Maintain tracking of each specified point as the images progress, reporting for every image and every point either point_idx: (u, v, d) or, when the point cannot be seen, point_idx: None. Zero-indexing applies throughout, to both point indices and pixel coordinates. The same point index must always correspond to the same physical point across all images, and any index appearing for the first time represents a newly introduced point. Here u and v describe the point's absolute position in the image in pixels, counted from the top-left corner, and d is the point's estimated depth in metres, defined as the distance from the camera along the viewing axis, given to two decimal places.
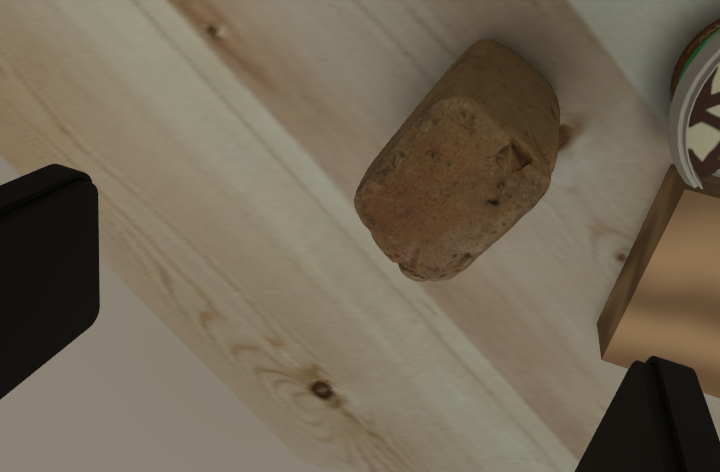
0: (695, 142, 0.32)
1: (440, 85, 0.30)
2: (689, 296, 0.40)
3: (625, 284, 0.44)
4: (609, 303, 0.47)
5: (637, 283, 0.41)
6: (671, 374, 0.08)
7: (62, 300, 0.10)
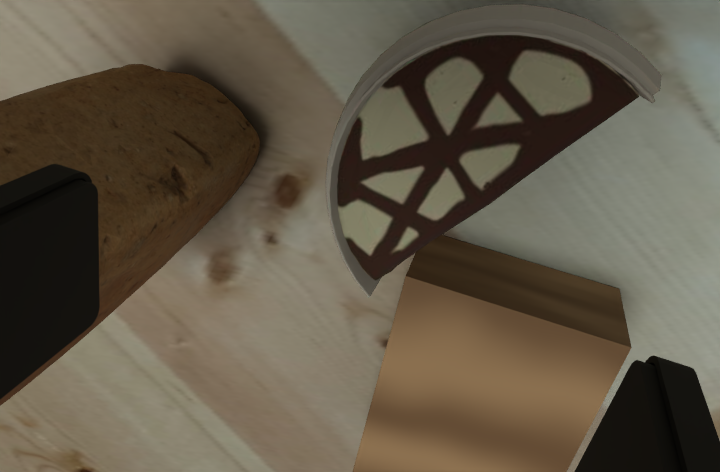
0: (354, 228, 0.22)
1: None
2: (437, 412, 0.30)
3: None
4: None
5: (374, 392, 0.31)
6: (671, 374, 0.08)
7: (62, 300, 0.10)
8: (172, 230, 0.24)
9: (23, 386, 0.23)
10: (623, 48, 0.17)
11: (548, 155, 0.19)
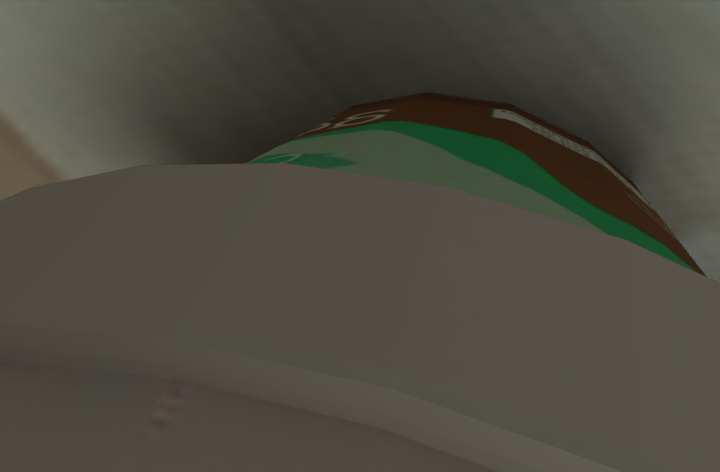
0: None
1: None
2: None
3: None
4: None
5: None
6: None
7: None
8: None
9: None
10: None
11: None
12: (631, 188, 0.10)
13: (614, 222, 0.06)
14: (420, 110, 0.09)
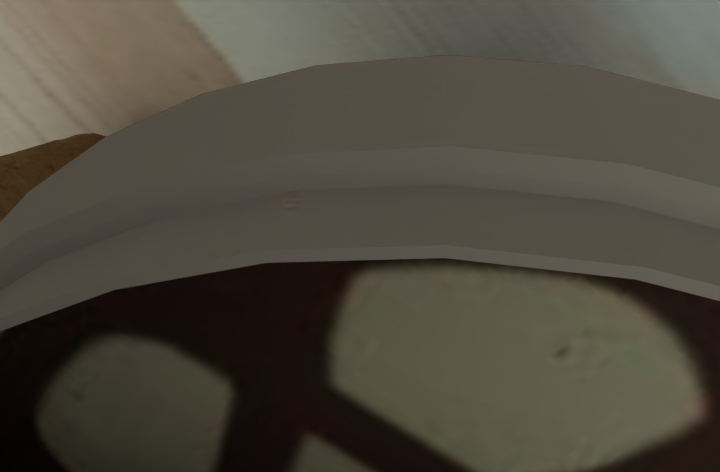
0: None
1: None
2: None
3: None
4: None
5: None
6: None
7: None
8: None
9: None
10: None
11: None
12: None
13: None
14: None
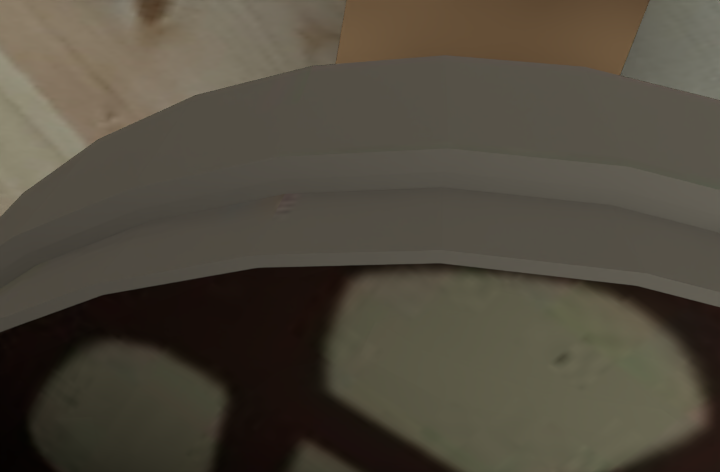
0: None
1: None
2: None
3: None
4: None
5: None
6: None
7: None
8: None
9: None
10: None
11: None
12: None
13: None
14: None
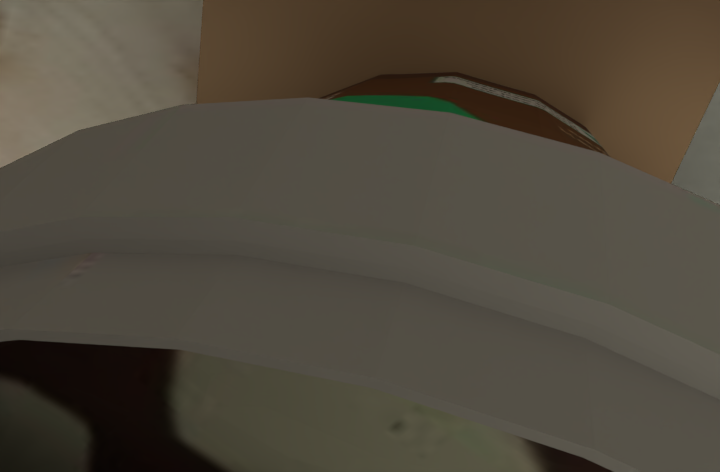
0: None
1: None
2: None
3: None
4: None
5: None
6: None
7: None
8: None
9: None
10: (661, 250, 0.03)
11: None
12: (574, 127, 0.10)
13: None
14: (366, 87, 0.10)
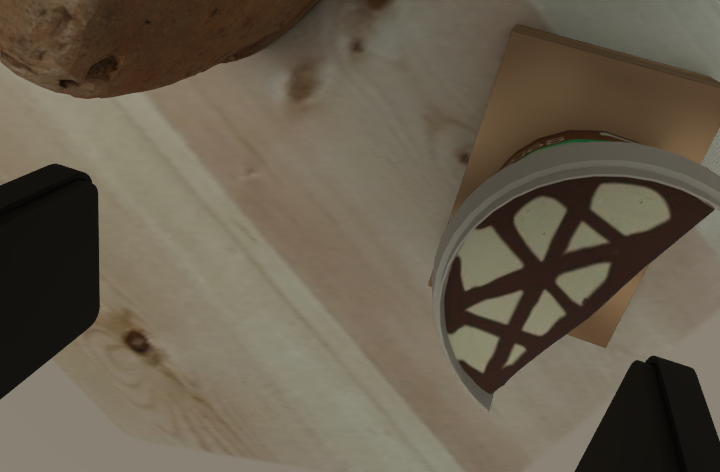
0: (465, 351, 0.24)
1: None
2: None
3: None
4: None
5: (464, 175, 0.31)
6: (671, 374, 0.08)
7: (62, 300, 0.10)
8: None
9: (151, 76, 0.23)
10: (691, 170, 0.19)
11: (638, 268, 0.21)
12: None
13: None
14: (576, 135, 0.26)
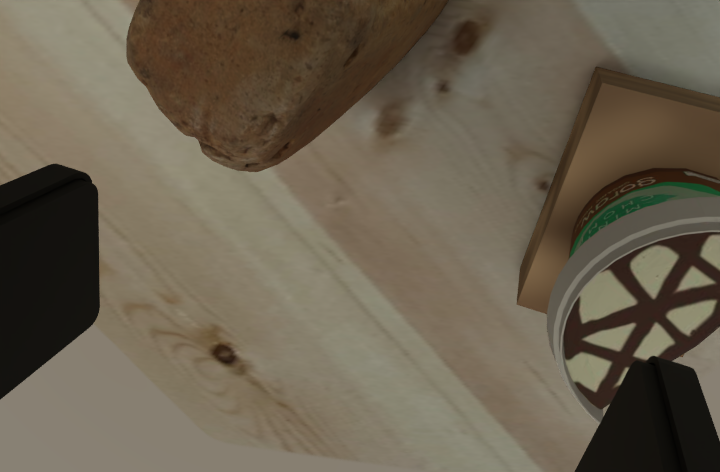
0: (580, 374, 0.27)
1: None
2: None
3: (545, 214, 0.37)
4: (531, 241, 0.40)
5: (553, 207, 0.34)
6: (671, 374, 0.08)
7: (62, 300, 0.10)
8: (421, 21, 0.28)
9: (302, 145, 0.27)
10: None
11: None
12: None
13: None
14: (665, 176, 0.30)
